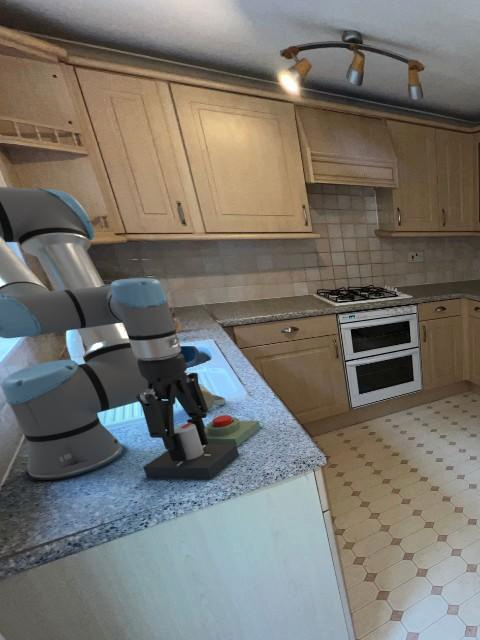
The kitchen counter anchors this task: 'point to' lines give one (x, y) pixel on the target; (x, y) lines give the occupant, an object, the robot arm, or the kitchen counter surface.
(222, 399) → the ceramic mug
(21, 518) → the kitchen counter surface
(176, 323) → the figurine
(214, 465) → the panel
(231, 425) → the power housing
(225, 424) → the power button
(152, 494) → the kitchen counter surface
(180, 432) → the timer dial
